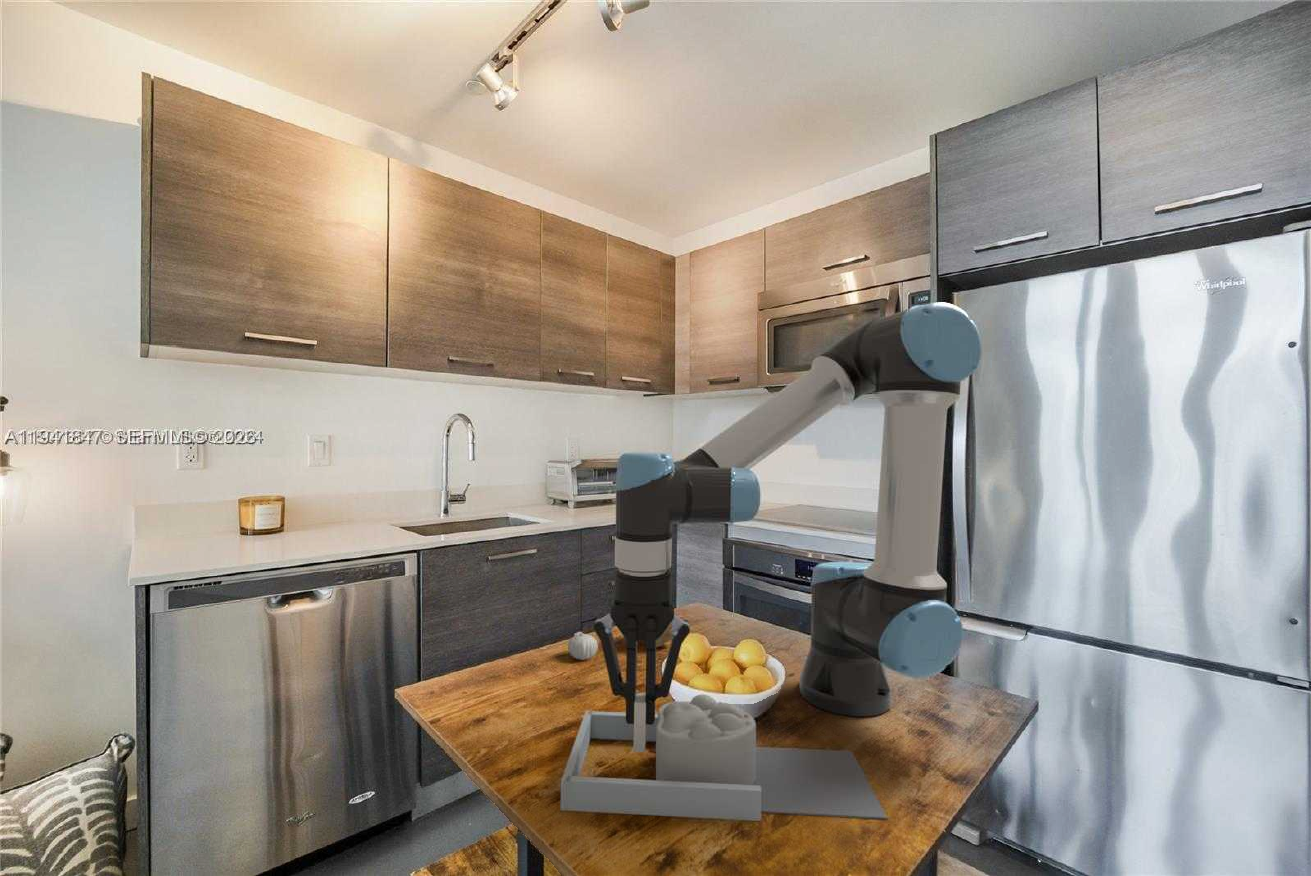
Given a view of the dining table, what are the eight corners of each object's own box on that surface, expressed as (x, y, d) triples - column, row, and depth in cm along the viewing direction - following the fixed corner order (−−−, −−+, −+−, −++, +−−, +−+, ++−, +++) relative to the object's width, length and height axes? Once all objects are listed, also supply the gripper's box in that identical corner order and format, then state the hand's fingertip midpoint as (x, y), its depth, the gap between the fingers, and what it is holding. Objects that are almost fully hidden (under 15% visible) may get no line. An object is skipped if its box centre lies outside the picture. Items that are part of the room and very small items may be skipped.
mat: (851, 752, 80) (851, 751, 80) (887, 819, 66) (887, 817, 66) (731, 746, 81) (731, 745, 81) (742, 811, 67) (742, 809, 67)
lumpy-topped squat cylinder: (658, 750, 80) (658, 689, 80) (750, 753, 79) (751, 691, 79) (654, 797, 70) (654, 727, 70) (761, 800, 69) (761, 729, 69)
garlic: (565, 663, 110) (565, 636, 110) (569, 652, 115) (569, 627, 115) (596, 663, 110) (596, 637, 110) (598, 653, 115) (599, 627, 115)
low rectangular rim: (744, 741, 83) (745, 718, 83) (760, 820, 66) (761, 790, 66) (585, 734, 84) (585, 710, 84) (560, 810, 67) (561, 780, 67)
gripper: (691, 564, 78) (688, 734, 78) (598, 561, 79) (595, 730, 79) (692, 577, 71) (689, 765, 71) (589, 574, 71) (586, 760, 72)
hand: (639, 746), depth 75 cm, fingers closed
